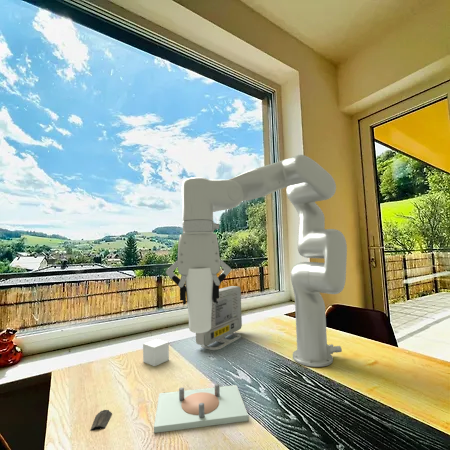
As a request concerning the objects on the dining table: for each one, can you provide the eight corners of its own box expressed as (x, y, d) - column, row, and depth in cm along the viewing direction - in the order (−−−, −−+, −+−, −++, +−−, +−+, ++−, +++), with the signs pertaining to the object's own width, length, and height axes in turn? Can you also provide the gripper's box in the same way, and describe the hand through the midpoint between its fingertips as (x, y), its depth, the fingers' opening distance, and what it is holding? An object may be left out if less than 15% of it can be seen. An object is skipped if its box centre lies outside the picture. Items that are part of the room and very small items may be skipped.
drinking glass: (186, 326, 69) (185, 266, 70) (213, 325, 70) (212, 265, 71) (185, 335, 62) (184, 269, 63) (215, 334, 63) (213, 268, 64)
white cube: (143, 362, 92) (142, 343, 92) (157, 356, 96) (157, 338, 97) (154, 366, 88) (154, 347, 88) (169, 360, 93) (168, 341, 93)
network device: (230, 330, 122) (229, 285, 124) (247, 333, 117) (245, 286, 119) (191, 349, 102) (190, 294, 103) (209, 354, 96) (208, 296, 98)
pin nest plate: (236, 389, 73) (236, 375, 73) (248, 420, 60) (247, 403, 60) (159, 398, 69) (159, 383, 70) (153, 432, 57) (153, 414, 57)
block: (90, 437, 58) (88, 429, 58) (97, 418, 64) (95, 410, 64) (108, 432, 59) (106, 424, 59) (113, 413, 65) (112, 406, 64)
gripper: (230, 228, 73) (232, 297, 71) (163, 230, 70) (163, 301, 69) (235, 227, 65) (237, 303, 64) (160, 228, 63) (161, 308, 61)
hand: (199, 301), depth 66 cm, fingers closed on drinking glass, 6 cm apart
